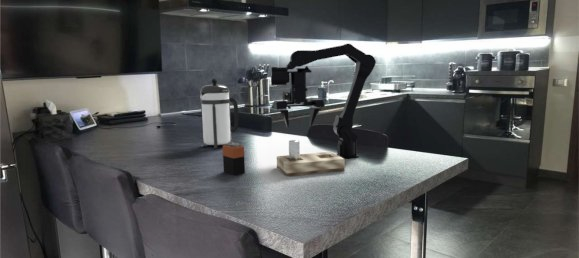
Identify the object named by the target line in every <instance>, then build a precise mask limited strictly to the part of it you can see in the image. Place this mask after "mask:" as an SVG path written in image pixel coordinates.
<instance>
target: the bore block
mask: <svg viewBox="0 0 579 258" xmlns="http://www.w3.org/2000/svg"><path fill="white" fill-rule="evenodd" d="M345 159H346V158H342V157H340V156H338V155H337V153H334V152H333V151H324V152H323V151H322V152H314V153H313V152H312V153H302V154H301V153H300V160H297V161H289V154H287V155H277V156H276V168H277V169H278V170H279V171H280V172H281V173H282V174H283V175H285V176H286V177H295V176H305V175H313V174H323V173H332V172H333V173H334V172H344V171H345V169H346V168H345V167H346V166H345V162H346V161H345Z"/></svg>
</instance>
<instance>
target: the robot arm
mask: <svg viewBox="0 0 579 258" xmlns="http://www.w3.org/2000/svg"><path fill="white" fill-rule="evenodd" d="M341 56H346V57H347V58H348V59H349V60H350V61H352V62H353V63H355V67H354V78H353V80H352V83H351V86H350V89H349V92H348V95H347V97H346V101H345V104H344V107H343V110H342V112H341V113H340V115H337V114H336V115H335V117H334V122H333V123H332V125H333V128H332V129H333V132H334V133H335V134H336V135H337V136H338V138H339V139H338V144H337V146H336V147H337V149H336V150H337V151H336V152H337V153H336V155H338V156H340V157H342V158H344V159H350V158H359V155H358V153H357V151H358V148H357V147H358V139H359V138H358V136H357V134H355V133H354V132H353V127H354V115H355V111H356V109H357V106H358V103H359V100H360V97H361V95H362V92H363V89H364V86H365V84H366V81H367V79H368V78H369V76H370V75H371V73H372V72H373V71H374V68H375V66H376V63H377V62H376V61H377V60H376V59H375V57H374V56H373V55H371V54H367V53H365V52H364V51H362V50H360V49H358V48H357V47H356V46H354V45H353V44H352V43H345V44H342V45H337V46H332V47H326V48H322V49H321V48H320V49H316V50H304V49H303V50H296V51H293V52H292V53H291V54H290V57H289V62H288V63H287V64H286V66H285V67H275V66H271V69H270V70H271V71H270V72H271V75H270V86H272V87H273V86H274V87H275V86H282V87H283V86H287V84H289V83H290V89H289V91H285V90H284V91H282V99H281V100H274V101H273V102H272V108H273V109H275V110H276V111H277V112H280V114H281V116H282V118H283V120H284V123H285V126H286V128H287V129H288V128H289V127H290V126H289V125H290V124H289V121H290V120H289V119H290V118H289V109H287V108H293V107H295V108H296V107H309V127H312V126H313V124H314V122H315V119H316V117H317V115H318V113H319V112H320V110H322V108H325V107H326V105H325V104H326V103H325V100H324V99H321V98H311V99H310V100H309V99H308V98H307V92H308V87H307V73H310V74H311V73H312V70H311V69H310V68H309V67H308V66H307V65H309V64H311V63H313V62H316V61H320V60H325V59H329V58H331V59H332V58H335V57H341ZM303 66H305V67H304V68H298V67H303ZM295 68H296V70H295V71H291V70H294V69H295ZM289 70H290V71H289Z"/></svg>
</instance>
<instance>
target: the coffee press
mask: <svg viewBox="0 0 579 258" xmlns="http://www.w3.org/2000/svg"><path fill="white" fill-rule="evenodd" d="M217 82H218V80H217V79H216V78H212V80H211V83H212V84H206V85H203V86H201V88H200V90H199V93H200V95H199V96H200V108H201V109H200V110H201V112H200V113H201V128H202V129H201V130H202V142H201V143H200V147H204V145H209V146H213V149H214V150H218V146H220V145H222V146H223V145H227V144H228V143H229V142H232V144H233V143H235V142H234V141H233V139H232V133H235V132H236V131H237V130H238V127H239V121H240V120H239V107H238V102H237V100H236V99H235V98H233V97H230V92H231V91H230V89H229V87H228V86H227V85H226V84H217ZM231 103H232V106H233V115H234V116H233V118H234V120H233V121H234V124H233V127H232V126H231V123H232V120H231V119H232V118H231ZM202 143H204V145H202Z"/></svg>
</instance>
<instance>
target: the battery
mask: <svg viewBox="0 0 579 258" xmlns="http://www.w3.org/2000/svg"><path fill="white" fill-rule="evenodd" d="M222 160H223V161H222V163H223V172H225V173H227V174H231V175H234V176H238V175H241V174H245V172H246V168H245V167H246V166H245V147H244V146H243V145H241V144H240V143H239V142H234V143H233V142H232V141H230V142H229V143H227V144H222Z"/></svg>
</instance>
